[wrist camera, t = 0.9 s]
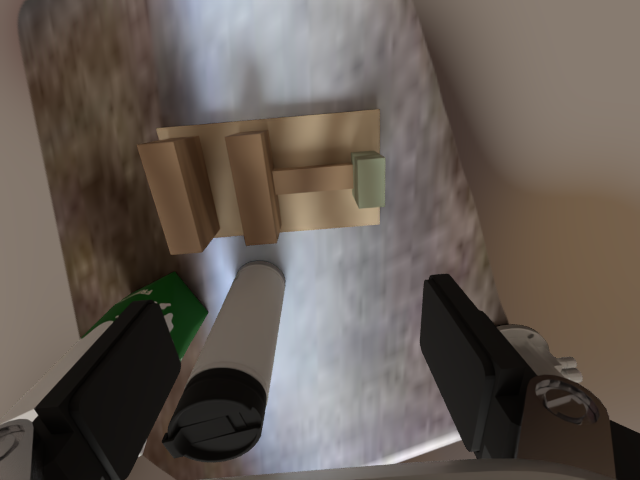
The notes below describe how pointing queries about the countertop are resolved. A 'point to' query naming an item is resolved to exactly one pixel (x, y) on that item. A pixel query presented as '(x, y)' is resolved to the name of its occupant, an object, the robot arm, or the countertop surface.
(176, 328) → the milk carton
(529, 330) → the robot arm
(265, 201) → the sliding jaw
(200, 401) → the travel mug
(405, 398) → the countertop surface
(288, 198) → the base
